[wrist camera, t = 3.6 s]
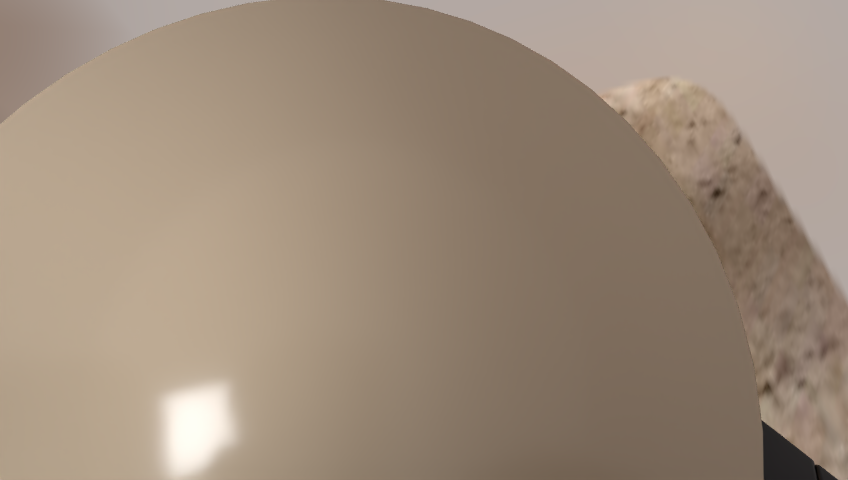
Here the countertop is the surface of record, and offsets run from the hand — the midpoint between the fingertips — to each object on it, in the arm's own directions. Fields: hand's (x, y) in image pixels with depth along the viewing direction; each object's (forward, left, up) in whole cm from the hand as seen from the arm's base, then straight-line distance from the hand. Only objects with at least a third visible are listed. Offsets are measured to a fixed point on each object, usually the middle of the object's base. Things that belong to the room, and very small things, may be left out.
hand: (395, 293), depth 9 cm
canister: (-1, +1, -7) cm, 7 cm away
